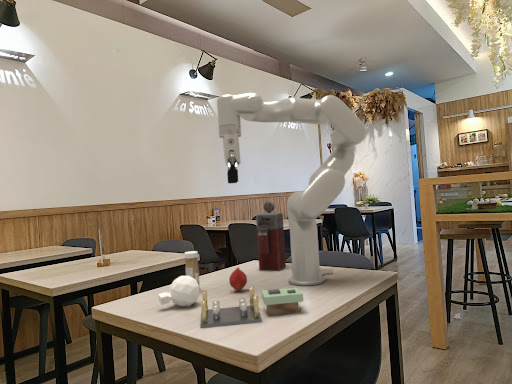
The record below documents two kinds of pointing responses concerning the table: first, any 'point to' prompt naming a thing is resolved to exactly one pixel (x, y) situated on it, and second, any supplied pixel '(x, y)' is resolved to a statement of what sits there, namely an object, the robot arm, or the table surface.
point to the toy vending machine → (270, 239)
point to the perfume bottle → (181, 292)
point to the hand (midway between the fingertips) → (232, 182)
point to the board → (281, 296)
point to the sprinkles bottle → (192, 265)
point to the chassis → (230, 312)
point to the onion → (238, 279)
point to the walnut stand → (282, 308)
